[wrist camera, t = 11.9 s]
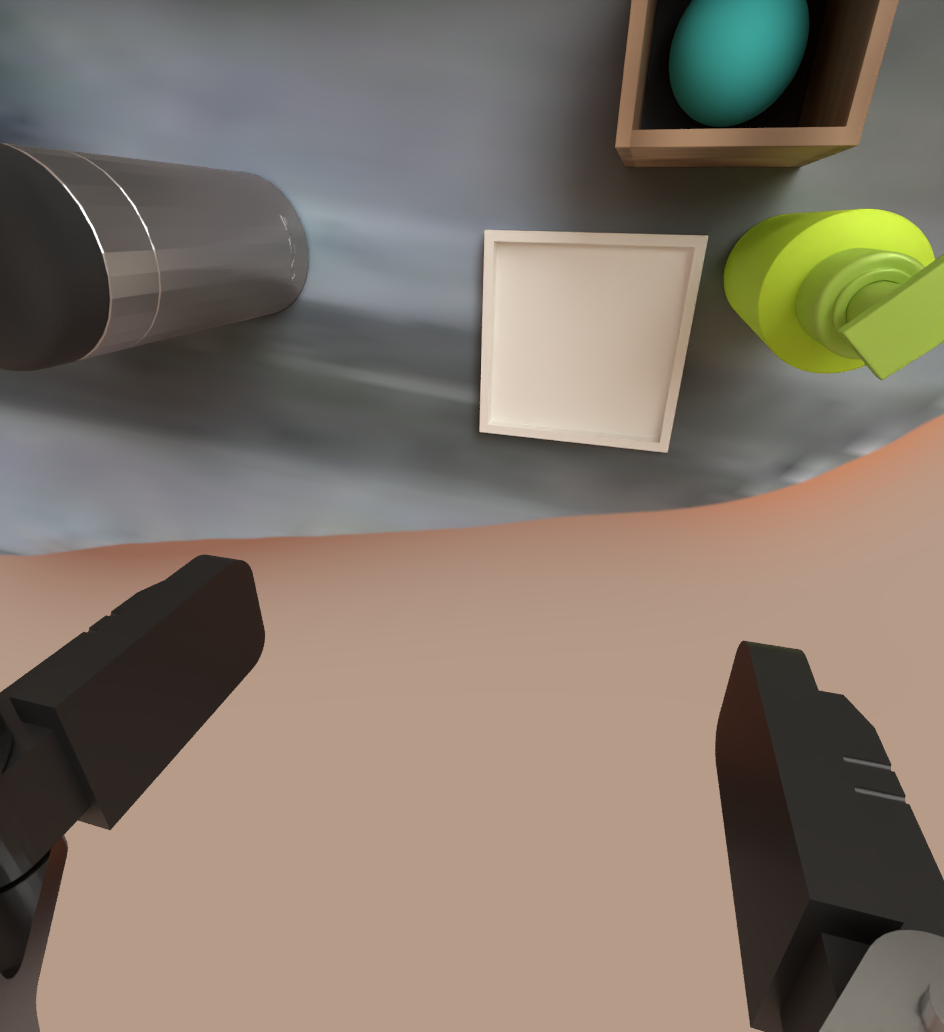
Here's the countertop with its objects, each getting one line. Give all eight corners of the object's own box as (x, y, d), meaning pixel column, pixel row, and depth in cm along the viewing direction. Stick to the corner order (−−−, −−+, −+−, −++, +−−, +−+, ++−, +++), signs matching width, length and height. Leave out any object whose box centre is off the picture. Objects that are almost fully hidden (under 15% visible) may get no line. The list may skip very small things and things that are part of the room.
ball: (678, -7, 29) (684, -56, 24) (808, -16, 27) (845, -70, 22) (658, 135, 32) (660, 118, 27) (775, 133, 30) (801, 115, 25)
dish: (483, 426, 42) (479, 431, 41) (489, 229, 36) (484, 229, 35) (667, 446, 39) (667, 452, 38) (706, 235, 33) (708, 235, 32)
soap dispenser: (879, 255, 31) (1151, 295, 14) (763, 345, 35) (870, 464, 18) (813, 172, 31) (1017, 107, 13) (701, 272, 34) (751, 322, 17)
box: (624, 166, 33) (615, 147, 24) (651, -49, 28) (650, -166, 20) (808, 166, 30) (868, 144, 22) (866, -68, 26) (969, -208, 18)
